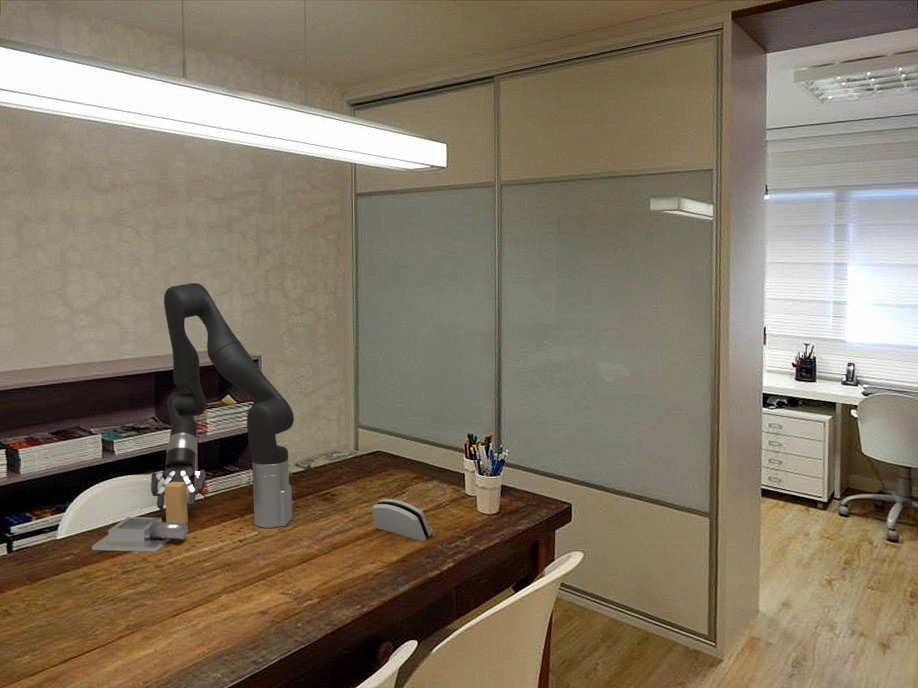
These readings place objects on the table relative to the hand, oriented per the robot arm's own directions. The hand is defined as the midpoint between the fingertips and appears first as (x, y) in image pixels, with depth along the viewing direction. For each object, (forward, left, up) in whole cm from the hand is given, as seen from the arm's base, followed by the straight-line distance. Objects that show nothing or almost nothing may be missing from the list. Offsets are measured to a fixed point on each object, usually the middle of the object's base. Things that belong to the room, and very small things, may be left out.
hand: (175, 507), depth 188 cm
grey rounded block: (-60, +1, -5) cm, 61 cm away
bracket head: (+3, +10, -5) cm, 12 cm away
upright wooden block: (0, -2, -5) cm, 5 cm away
